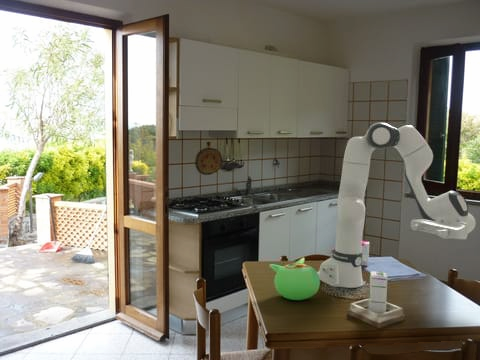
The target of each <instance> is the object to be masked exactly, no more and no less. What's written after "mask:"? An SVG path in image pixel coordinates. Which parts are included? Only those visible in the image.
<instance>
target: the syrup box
mask: <svg viewBox="0 0 480 360" xmlns="http://www.w3.org/2000/svg"><path fill="white" fill-rule="evenodd" d="M369 275H370V276H369V289H368V290H369V291H368V298H369V307H368V310H369V311H372V312H374V313H376V314H382V313H385V312H386V302H387V298H388V297H387V295H388V294H387V293H388V291H387V290H388V275H387V272H384V271H370V273H369Z"/></svg>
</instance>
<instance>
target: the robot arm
mask: <svg viewBox="0 0 480 360" xmlns="http://www.w3.org/2000/svg"><path fill="white" fill-rule="evenodd" d="M392 147H394V148H395V149H396V150H397V151H398V153H399V154H400V156H401V158H402V159H403V161H404V164H405V170H404V176H405V177H404V178H405V180H406V181H407V185H408V187H409V189H410V191H411V193H412V196H413V198H414V201H415V203H416V204H417V208H418V212H419V214H420V218H419V219H418V218H417V219H412V220H411V222H410V229H411V230H413V231H417V232H418V231H419V232H423V233H429V234H433V235H436V236H437V237H440V238H441V239H455V240H467V238H468V235H469V233H471V232H472V231H473V230H475V228H476V224H477V223H476V219H475V217H474V216H473V215H472V214H471V213H470V212H469V206H468V202H467V200H466V199H465V197H464V195H462V194H460V192H458V191H454V190H449V191H447V192H445V193H442V194H440V195H438V196H435V197H433V198H430V197H429V196H428V193H427V191H426V189H425V186H424V184H423V182H422V176H423V175H424V173H426V171H427V170H428V169H429V168H430V166H431V164H432V163H433V159H434V154H433V150H432V149H431V147H430V145H429V144H428V142H427V141H426V139H425V137H423V136H422V134H421V133H420V132H419V131H418V130H417V129H416V128H415V127H414V126H413V125H411V124H409V125H408V124H405V125H402V126H400V127H399V128H396V127H394V126H392V125H390V124H388V123H386V122H385V121H384V122H381V121H378V122H375V123H373V124H372V125H370V126H369V128H368V129H367V131H366V133H365V134H364V135H363V136H353V137H351V138H349V140H348V141H347V144H346V147H345V151H344V156H343V161H342V170H341V176H340V177H341V179H340V184H339V190H338V197H337V203H336V204H337V223H336V233H335V234H336V235H335V248H334V249H332V250H330V254H332V256H331V257H330V258H327V259H326V260H325V261H323V262H321V264H320V266H319V269H318V271H316V272H317V273H318V275H319V278H320V282H321V281H322V282H323V283H325V284H328V286H331V287H336V288H337V287H338V288H339V287H340V288H346V289H347V288H348V289H349V288H350V289H353V288H360V287H362V286H364V281H363V273H362V266H361V262H362V252H361V250H362V241H363V235H364V234H363V233H364V227H365V218H366V206H365V203H364V202H365V195H366V189H367V185H368V181H369V174H370V165H371V157H372V154H373V152H374V151H375V150H376V149H377V150H385V149H389V148H392Z"/></svg>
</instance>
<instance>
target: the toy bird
mask: <svg viewBox="0 0 480 360" xmlns="http://www.w3.org/2000/svg"><path fill="white" fill-rule="evenodd" d="M305 260H306V259H305V257H301V258H300V259H298V261H296V262H295V263H294V262H293V263H289V264H285V265H284V266H282V265H278V264H273V263H271V264H269V265H268V266H269V268H270V269H272V271H274V272H275V273H276V274H275V276H274V279H273V280H274V282H273V283H274V284H273V285H274V287H275V290H276V291H277V293H278V294H279V295H280V296H282V297H283V298H285V299H287V300H293V301H302V300H306V299H307V300H308V299H309V298H312V297H313V296H314V295H316V293H317V292H318V290H319V288H320V284H321V280H320V278H319V275H318V273H317V272H318V271H317V270H316V269H314V268H313V267H312V266H310V265H308V264H305Z"/></svg>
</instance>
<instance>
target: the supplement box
mask: <svg viewBox="0 0 480 360" xmlns="http://www.w3.org/2000/svg"><path fill="white" fill-rule="evenodd" d="M361 252H362V262H361V267H366V268H367V267H369V258H370V241H367V240H362V250H361Z"/></svg>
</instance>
